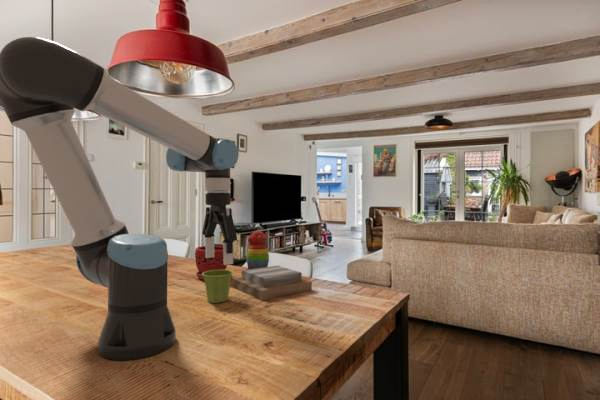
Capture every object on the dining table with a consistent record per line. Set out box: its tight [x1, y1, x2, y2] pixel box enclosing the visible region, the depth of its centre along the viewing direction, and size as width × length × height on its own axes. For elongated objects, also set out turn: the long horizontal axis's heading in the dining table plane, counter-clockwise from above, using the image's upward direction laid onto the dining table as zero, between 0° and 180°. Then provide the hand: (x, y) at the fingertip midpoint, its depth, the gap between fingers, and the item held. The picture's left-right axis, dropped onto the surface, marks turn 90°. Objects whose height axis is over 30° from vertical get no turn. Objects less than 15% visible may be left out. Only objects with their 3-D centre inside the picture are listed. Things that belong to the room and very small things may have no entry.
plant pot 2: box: [202, 269, 234, 304], centre depth 107 cm, size 9×9×9 cm
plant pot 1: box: [194, 245, 228, 280], centre depth 138 cm, size 13×13×12 cm
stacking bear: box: [245, 230, 270, 270], centre depth 146 cm, size 11×10×18 cm
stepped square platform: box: [232, 265, 313, 301], centre depth 122 cm, size 20×20×6 cm
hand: (218, 260), depth 108 cm, fingers open, 13 cm apart
